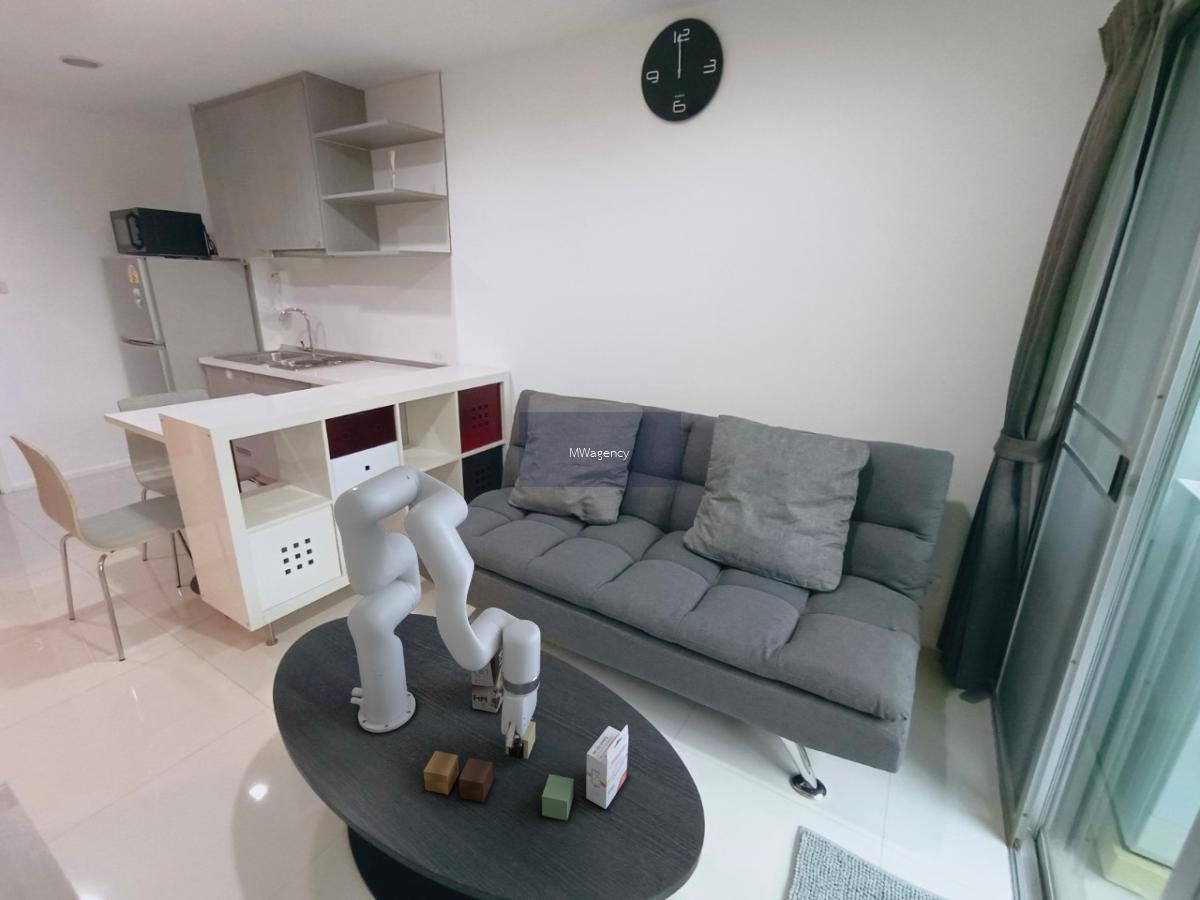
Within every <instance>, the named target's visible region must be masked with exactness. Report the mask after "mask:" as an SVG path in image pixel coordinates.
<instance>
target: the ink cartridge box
mask: <svg viewBox="0 0 1200 900" xmlns="http://www.w3.org/2000/svg"><path fill="white" fill-rule="evenodd" d="M629 737H630V736H629V726H628V724H626V725H625V726H624V727H623V729H622V730H621V731H620V730H618V729H616V728H614V727H612V726H610V725H608V726H607V727H606V728H605V730H604V731H603V732H602V733H601V734H600V736H599V737H598V738H597V739H596V741H594V743H593V744H592V746H591V747H590V748H589V749H588V751H587V752H586V772H585V773H586V777H585V779H586V781H585V783H586V784H585V787H586V789H585V798H586V799H587V800H589V801H590V802H591V803H594V804H595V805H597V806H599V807H601V808H602V809H604V810H606V809H607V808H608V807H609V805H610V804H611V802H612V801H613V799H614V798H615V796H616V794H617V793H618V792H619V790H620V788H621V787H622V785H623V784H624V782H625V780H626V779H627V772H628V771H627V769H628V755H629Z"/></svg>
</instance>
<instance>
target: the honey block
mask: <svg viewBox="0 0 1200 900" xmlns="http://www.w3.org/2000/svg"><path fill="white" fill-rule="evenodd" d="M459 775H460V767H459V755H458V754H454V753H449V752H445V751H439V750H434V753H433V754H432V756H431V758H430V759H429V761H428V762H427V764H426V766H425V768H424V769H423V778H424V789H425V791H430V792H435V793H438V794H443V795H448V796H449V794H450V792H451V790H452V788H453V786H454V785H455V783H456V780H457V778H458V777H459Z"/></svg>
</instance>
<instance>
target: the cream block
mask: <svg viewBox="0 0 1200 900" xmlns="http://www.w3.org/2000/svg"><path fill="white" fill-rule="evenodd" d="M508 733H509V730H508V732H507V733H506V735H505V744H506V743H507V738H508ZM515 739H516V740H519V736H518V735H515ZM522 743H524V757H523V759H527V760H528V759H529V757H530V754H531V752H532V750H533V746H534V744H535V743H536V721H533V720H532V721H530V722H529V725H528V727H527V730H526V732H525V734H524V736H523V740H522ZM505 755H508V748H507V747H506V746H505Z"/></svg>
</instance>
